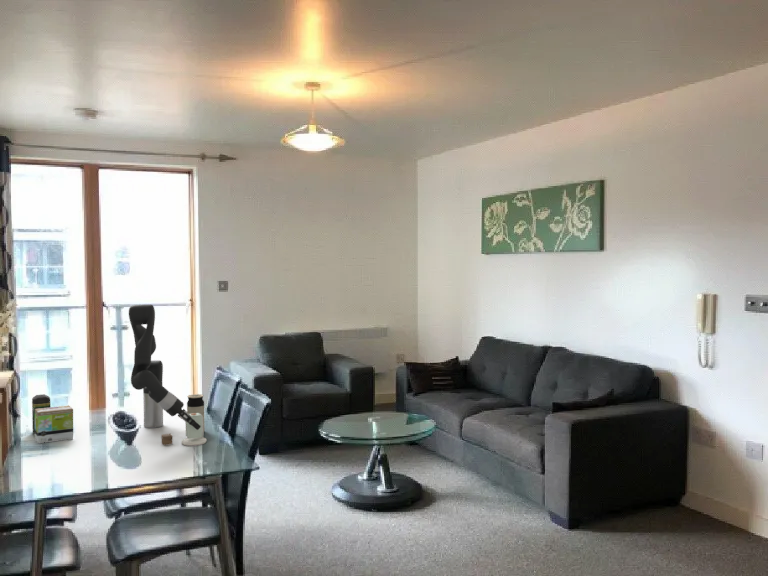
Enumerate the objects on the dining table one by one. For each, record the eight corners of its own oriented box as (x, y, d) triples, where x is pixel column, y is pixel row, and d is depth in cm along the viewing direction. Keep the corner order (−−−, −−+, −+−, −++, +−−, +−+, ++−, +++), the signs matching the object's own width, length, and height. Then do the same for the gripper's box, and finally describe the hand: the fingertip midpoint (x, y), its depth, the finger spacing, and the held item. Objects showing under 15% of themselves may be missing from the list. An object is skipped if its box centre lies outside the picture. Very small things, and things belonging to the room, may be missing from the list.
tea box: (38, 444, 298) (37, 412, 297) (34, 440, 306) (33, 408, 305) (74, 439, 307) (73, 407, 306) (69, 435, 315) (69, 404, 314)
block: (161, 443, 298) (161, 434, 298) (170, 442, 300) (170, 433, 300) (163, 445, 295) (163, 436, 295) (172, 444, 297) (172, 435, 296)
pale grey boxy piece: (185, 435, 299) (185, 413, 299) (199, 434, 302) (198, 411, 302) (188, 438, 294) (188, 415, 294) (201, 437, 297) (201, 414, 296)
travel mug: (194, 435, 312) (193, 397, 311) (184, 432, 316) (183, 395, 316) (208, 431, 318) (207, 395, 317) (197, 429, 323) (197, 393, 322)
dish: (179, 441, 300) (179, 439, 300) (203, 438, 306) (203, 435, 306) (184, 447, 291) (184, 444, 291) (209, 443, 296) (208, 441, 296)
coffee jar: (52, 433, 317) (51, 395, 316) (33, 436, 313) (32, 397, 312) (49, 429, 325) (49, 392, 324) (31, 432, 321) (30, 394, 320)
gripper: (179, 399, 288) (207, 423, 294) (173, 394, 300) (199, 417, 306) (167, 413, 285) (195, 436, 291) (161, 407, 298) (188, 429, 304)
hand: (197, 426), depth 299 cm, fingers closed on pale grey boxy piece, 6 cm apart
